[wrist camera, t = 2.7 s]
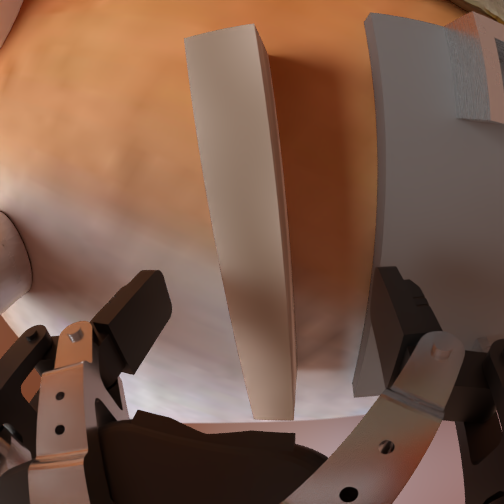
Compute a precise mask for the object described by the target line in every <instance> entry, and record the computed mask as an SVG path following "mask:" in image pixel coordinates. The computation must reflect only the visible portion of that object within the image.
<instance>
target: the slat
mask: <svg viewBox="0 0 504 504" xmlns="http://www.w3.org/2000/svg"><path fill="white" fill-rule="evenodd" d="M184 43H185V51H186V60H187V68H188V76H189V83H190V91H191V98H192V105H193V112H194V119H195V126H196V133H197V139H198V146H199V152H200V158H201V164H202V171H203V177H204V183H205V188H206V194H207V200H208V206H209V211H210V217H211V222H212V228H213V233H214V239H215V244H216V249H217V254H218V260H219V265H220V270H221V275H222V280H223V285H224V290H225V294H226V299H227V304H228V309H229V314H230V318H231V323H232V327H233V332H234V337H235V341H236V346H237V350H238V354H239V359H240V363H241V367H242V372H243V376H244V380H245V384H246V389H247V393H248V397H249V401H250V405H251V409H252V413H253V417H254V419H259V420H294V407H295V393H296V377H297V353H296V330H295V311H294V294H293V279H292V264H291V251H290V238H289V226H288V215H287V204H286V194H285V184H284V174H283V165H282V156H281V147H280V138H279V130H278V122H277V114H276V106H275V99H274V91H273V84H272V77H271V70H270V64H269V57H268V54H267V51H266V49H265V47H264V44H263V42H262V40H261V38H260V36H259V33H258V31H257V29H256V27H255V25H254V24H248V25H242V26H236V27H231V28H226V29H221V30H216V31H212V32H207V33H203V34H199V35H195V36H191V37H188V38H184Z"/></svg>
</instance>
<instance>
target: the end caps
mask: <svg viewBox="0 0 504 504" xmlns="http://www.w3.org/2000/svg"><path fill="white" fill-rule="evenodd" d="M444 31H445V36H446V40H447V45H448V50H449V56H450V62H451V68H452V76H453V84H454V93H455V105H456V118H459V119H464V120H469V121H478V122H489V123H498V124H504V89H503V81H502V74H501V68H500V62H503V63H504V25H503V24H501V23H498V22H496V21H494V20H492V19H490V18H488V17H485V16H483V15H481V14H478V13H476V12H473V11H471V12H469V13H468V14H466V15H464V16H462V17H460V18H458V19H456V20H455V21H453V22H451V23H449V24H447V25H446V26H444ZM499 61H500V62H499ZM490 347H491V344H490V342H489V341H488V339H487V337H482V338H477V339H476V341H475V343H474V346H473V348H472V350H471V351H476V352H485V353H488V351H489V349H490Z"/></svg>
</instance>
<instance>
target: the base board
mask: <svg viewBox="0 0 504 504" xmlns="http://www.w3.org/2000/svg"><path fill="white" fill-rule="evenodd" d="M364 25H365V31H366V36H367V42H368V48H369V55H370V62H371V69H372V78H373V87H374V97H375V110H376V126H377V154H378V186H377V215H376V232H375V245H374V256H373V266H372V275H371V283H370V291H369V298H368V305H367V312H366V318H365V324H364V330H363V335H362V341H361V346H360V351H359V356H358V360H357V365H356V369H355V374H354V378H353V382H352V384H353V393H354V397H367V396H377V395H381V394H382V392H383V391H384V390H385V384H384V379H383V373H382V368H381V363H380V359H379V354H378V349H377V345H376V340H375V336H374V332H373V328H372V323H371V318H370V303H371V296H372V287H373V278H374V271H375V268H376V267H386V266H396V267H397V268H398V270H399V272H400V274H401V276H402V278H403V280H408V279H410V280H411V281H413V282H414V283H415V284H417V285H418V286H419V287H420V288H421V290H422V292H423V294H424V296H425V298H426V299H427V301H428V303H429V306H430V307H431V309H432V311H433V312H434V314H435V316H436V318H437V320H438V322H439V324H440V326H441V328H442V330H443V332H447V333H450V334H452V335H454V336H456V337H457V338H458V339H459V340H460V341H461V342H462V344H463V346H464V349H465V350H468V351H471V350H472V348H473V346H474V343H475V341H476V339H477V338H482V337H487V339H488V341H489V342H490V344H491V345H492V344H493V342H495V341H496V340H499V339H504V124H498V123H489V122H478V121H469V120H464V119H459V118H456V105H455V93H454V84H453V76H452V68H451V62H450V56H449V50H448V45H447V40H446V36H445V31H444V27H443V26H439V25H435V24H431V23H427V22H423V21H419V20H414V19H409V18H404V17H398V16H392V15H386V14H379V13H370V14H369V15H368V17H367V18H366V20H365V21H364ZM499 62H500V61H499ZM500 68H501V74H502V81H503V89H504V63H503V62H500Z"/></svg>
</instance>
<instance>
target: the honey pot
mask: <svg viewBox="0 0 504 504" xmlns="http://www.w3.org/2000/svg"><path fill="white" fill-rule="evenodd" d="M22 2H23V0H0V48H1V46H2V45H3V43H4V41H5V39H6V37H7V35H8V33H9V32H10V30H11V27H12V25H13V23H14V21H15V19H16V17H17V15H18V12H19V10H20V7H21V5H22Z"/></svg>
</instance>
